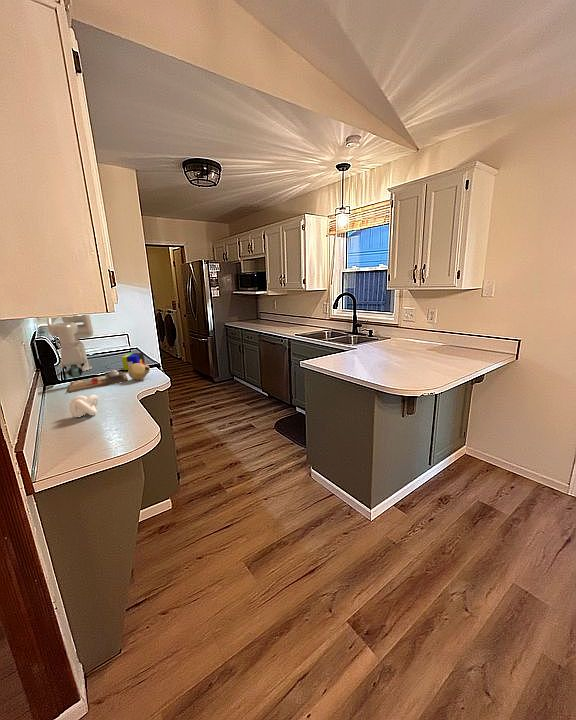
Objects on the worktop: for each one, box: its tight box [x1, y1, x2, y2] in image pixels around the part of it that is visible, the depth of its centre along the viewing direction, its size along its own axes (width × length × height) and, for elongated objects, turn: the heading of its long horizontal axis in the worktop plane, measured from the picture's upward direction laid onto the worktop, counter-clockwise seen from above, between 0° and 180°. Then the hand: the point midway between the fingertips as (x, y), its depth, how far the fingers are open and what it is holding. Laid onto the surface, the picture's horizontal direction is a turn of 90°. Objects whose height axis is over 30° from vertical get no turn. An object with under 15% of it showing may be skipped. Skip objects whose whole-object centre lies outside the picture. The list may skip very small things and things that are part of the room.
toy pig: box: [127, 363, 151, 381], centre depth 195 cm, size 10×12×11 cm
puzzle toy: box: [121, 352, 146, 371], centre depth 219 cm, size 10×10×10 cm
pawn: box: [69, 364, 82, 378], centre depth 190 cm, size 4×4×8 cm
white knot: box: [69, 394, 99, 418], centre depth 148 cm, size 11×12×9 cm
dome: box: [108, 369, 120, 377], centre depth 194 cm, size 6×6×4 cm
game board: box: [68, 370, 129, 394], centre depth 194 cm, size 18×30×5 cm, turn 121°
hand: (76, 374), depth 191 cm, fingers closed on pawn, 4 cm apart
